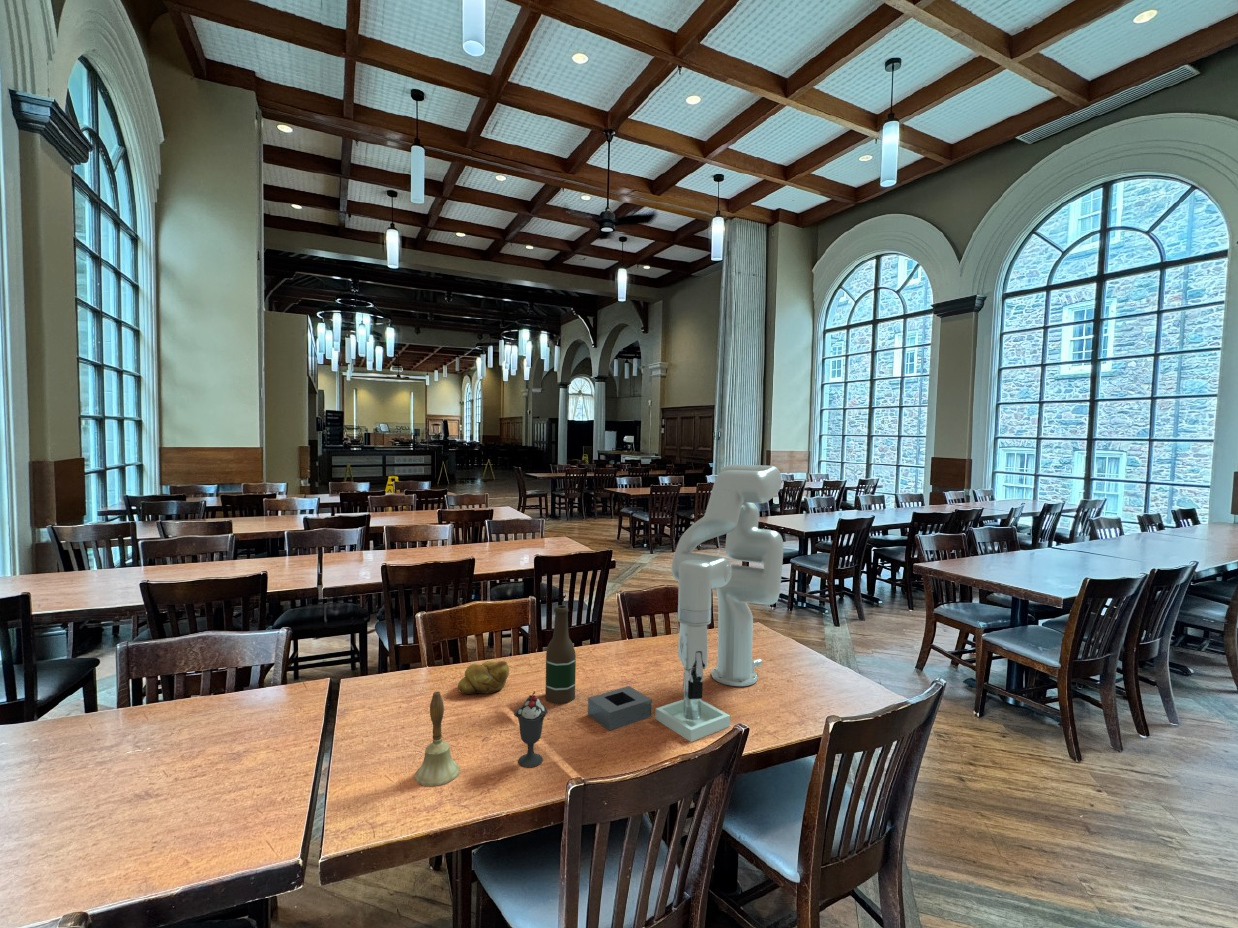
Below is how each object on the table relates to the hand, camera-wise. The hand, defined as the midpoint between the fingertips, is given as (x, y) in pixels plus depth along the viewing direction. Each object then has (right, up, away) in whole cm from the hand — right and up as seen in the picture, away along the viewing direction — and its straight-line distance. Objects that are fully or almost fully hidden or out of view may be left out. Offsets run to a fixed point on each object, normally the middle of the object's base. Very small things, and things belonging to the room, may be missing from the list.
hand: (692, 692), depth 127 cm
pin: (0, -5, 0) cm, 5 cm away
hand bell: (-52, -8, -20) cm, 56 cm away
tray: (0, -8, 0) cm, 8 cm away
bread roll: (-53, -7, +19) cm, 56 cm away
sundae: (-35, -8, -15) cm, 39 cm away
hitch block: (-17, -8, +3) cm, 19 cm away
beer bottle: (-32, -7, +12) cm, 35 cm away
